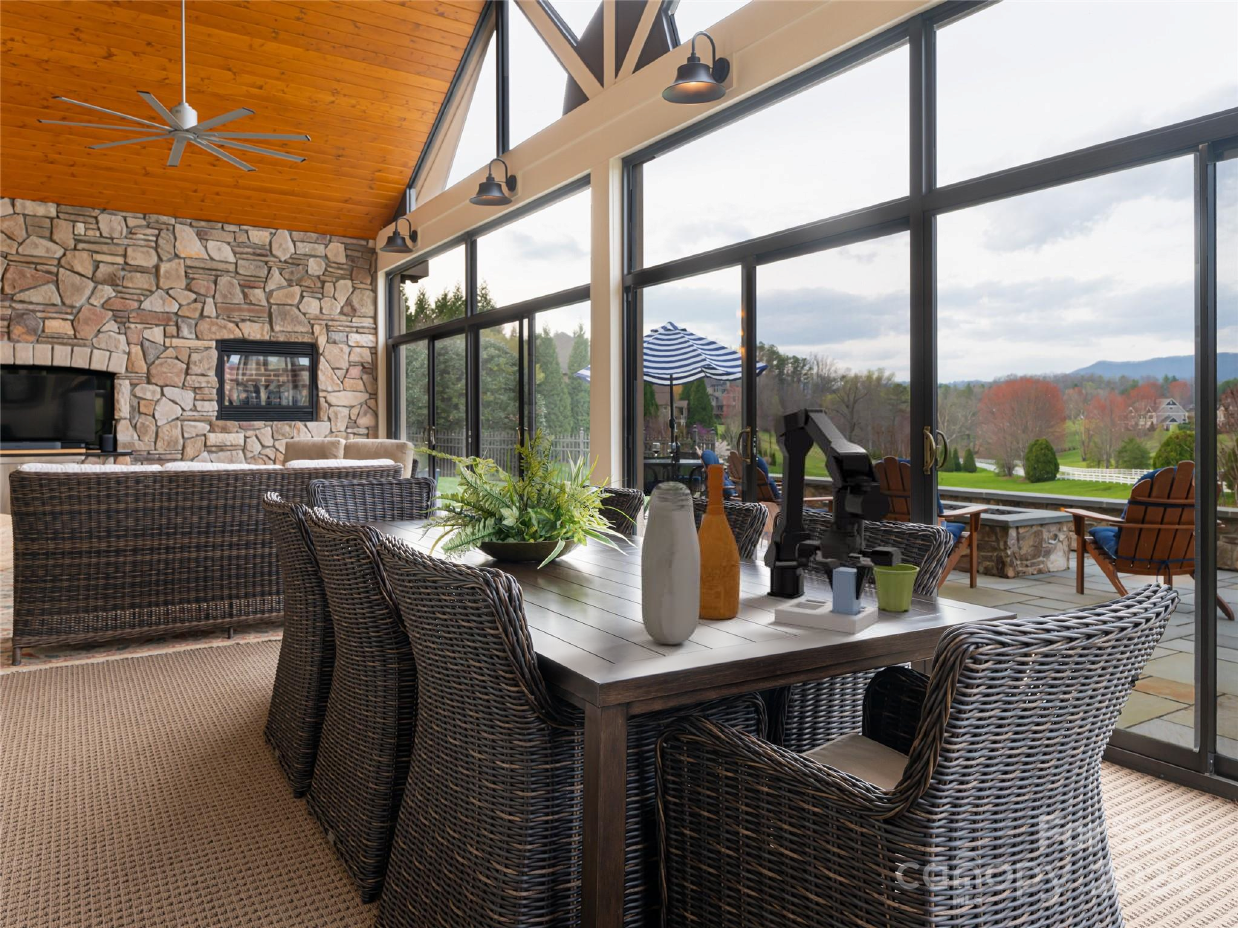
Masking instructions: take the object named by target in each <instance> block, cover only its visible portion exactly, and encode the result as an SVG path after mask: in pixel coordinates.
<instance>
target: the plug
mask: <svg viewBox="0 0 1238 928" xmlns="http://www.w3.org/2000/svg"><path fill="white" fill-rule="evenodd" d="M856 581H857V570H856V568H852V567H843V566H839V568H837V569H835V570H833V592H832V613H838V614H845V615H853V616H856V615H858V614H860V608H861V606H862V605H861V599H862V598H861V597H862V596H861V597H860V599H859V600H856Z"/></svg>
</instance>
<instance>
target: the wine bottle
mask: <svg viewBox="0 0 1238 928" xmlns="http://www.w3.org/2000/svg"><path fill="white" fill-rule="evenodd" d="M724 478H725V467H724V465H722V464H719V463H714V464H713V463H712V464H710V465H708V466H707V483H706V484H707V485H706V487H707V488H708V497H707V508H706V512H705V514H702V515H701V523H700V527H699V529H698V531H697V536H698V541H699V547H700V598H699V618H700V619H706V620H727V619H733V618H734V617H736V616H737V615H738V613H739V608H740V594H741V593H740V592H741V591H740V589H741V588H740V587H741V586H740V585H741V559H740V552H739V549H738V545H737V542H736V538H735V536H734V534H733V531H732V529H731V527H730V524H729V521H728V519H727V516H726V512H725V509H724V501H723V488H724V487H725V481H724Z"/></svg>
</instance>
